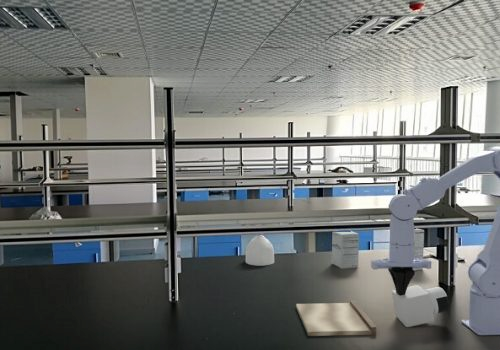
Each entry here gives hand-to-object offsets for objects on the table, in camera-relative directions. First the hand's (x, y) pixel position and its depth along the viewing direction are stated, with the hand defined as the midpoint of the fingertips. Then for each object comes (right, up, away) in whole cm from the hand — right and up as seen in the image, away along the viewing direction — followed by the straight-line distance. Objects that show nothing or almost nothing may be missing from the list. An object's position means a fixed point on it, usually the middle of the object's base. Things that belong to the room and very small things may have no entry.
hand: (400, 296), depth 109 cm
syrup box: (+21, -4, +48) cm, 53 cm away
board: (-16, -6, +2) cm, 18 cm away
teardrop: (-34, -3, +58) cm, 67 cm away
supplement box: (-2, -3, +52) cm, 52 cm away
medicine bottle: (-1, -3, 0) cm, 3 cm away
